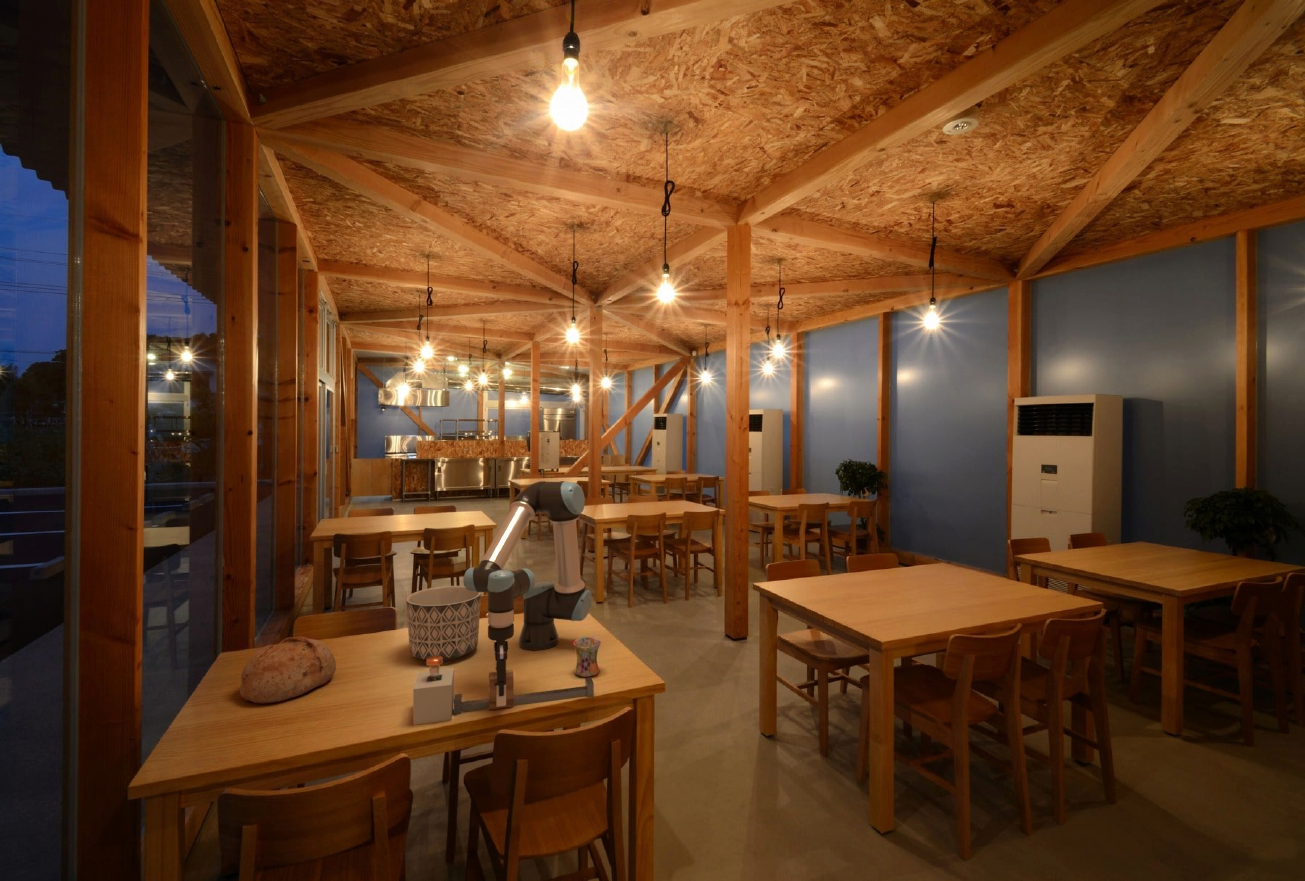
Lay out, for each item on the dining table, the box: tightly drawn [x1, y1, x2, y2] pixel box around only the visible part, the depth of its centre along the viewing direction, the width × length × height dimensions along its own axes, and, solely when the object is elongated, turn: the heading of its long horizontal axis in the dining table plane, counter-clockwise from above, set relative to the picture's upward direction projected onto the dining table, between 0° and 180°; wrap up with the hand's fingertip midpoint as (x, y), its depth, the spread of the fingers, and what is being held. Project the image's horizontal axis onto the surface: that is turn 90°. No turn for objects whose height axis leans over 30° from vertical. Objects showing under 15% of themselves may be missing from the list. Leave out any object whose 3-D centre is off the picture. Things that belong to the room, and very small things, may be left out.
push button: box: [425, 656, 444, 681], centre depth 162 cm, size 4×4×6 cm
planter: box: [405, 585, 482, 662], centre depth 205 cm, size 26×26×22 cm
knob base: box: [412, 667, 455, 726], centre depth 162 cm, size 12×10×10 cm
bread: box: [239, 636, 337, 704], centre depth 178 cm, size 26×23×15 cm
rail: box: [453, 677, 595, 715], centre depth 168 cm, size 4×41×4 cm, turn 107°
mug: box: [572, 636, 601, 678], centre depth 190 cm, size 12×9×11 cm
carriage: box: [488, 669, 514, 711], centre depth 166 cm, size 5×7×9 cm
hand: (500, 701), depth 166 cm, fingers closed on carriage, 5 cm apart
